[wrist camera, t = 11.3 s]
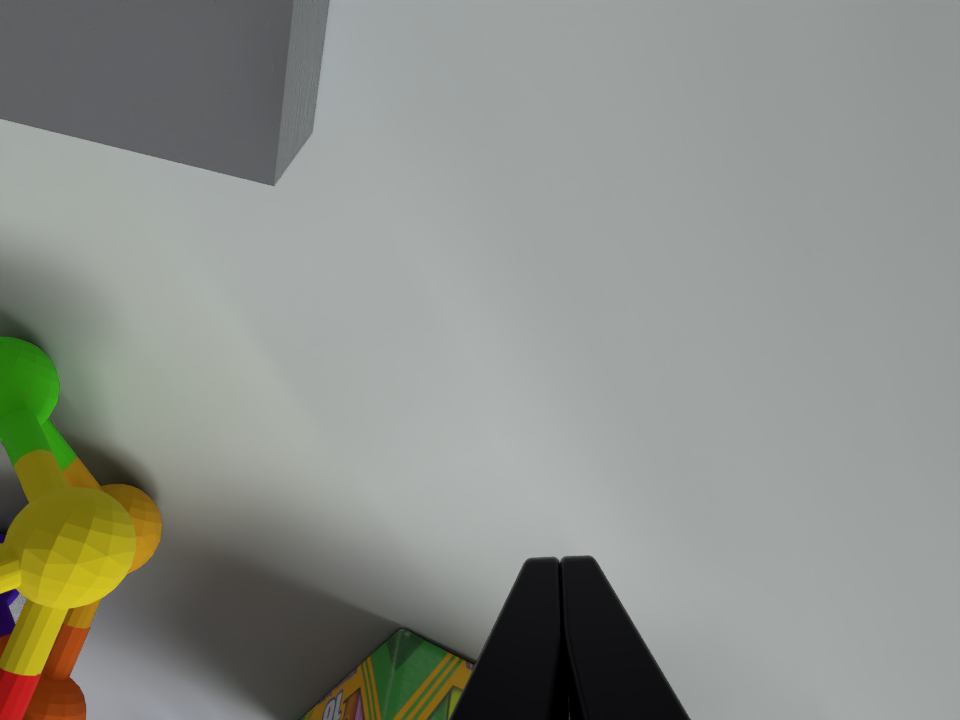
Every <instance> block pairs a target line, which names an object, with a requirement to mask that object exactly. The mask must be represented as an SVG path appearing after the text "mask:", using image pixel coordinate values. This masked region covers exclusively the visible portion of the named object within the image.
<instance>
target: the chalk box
mask: <svg viewBox="0 0 960 720" xmlns="http://www.w3.org/2000/svg"><path fill="white" fill-rule="evenodd" d="M474 666H475V665H473V664H471V663H469V662H467V661H464V660H463V659H461V658H459V657H457V656H455V655H453V654H451V653H449V652H447V651H445V650H443V649H441V648H439V647H437V646H435V645H433V644H431V643H429V642H427V641H425V640H423V639H422V638H420V637H418V636H416V635H414V634H413V633H411V632H409V631H408V630H406V629H400V630H399V631H397V632H396V633H395V634H393V635H392V637H391V638H390V639H388V640H387V641H386V642H385V643H384V644H382V646H381V647H380V648H378V649H377V650H376V651H375V652H374V653H372V654H371V655H370V656H369V657H368V658H367V659H366V660H365V661H364V662H362V663H361V664H360V666H358V667H357V668H356V669H355V670H354V671H352V672H351V673H350V674H349V675H348V676H347V677H346V678H345V679H344V680H342V681H341V683H340V684H338V685H337V686H336V687H335V688H334V689H333V690H332V691H331V692H330V693H328V694H327V695H326V697H324V698H323V699H322V700H321V701H320V702H319V703H318V704H317V705H316V706H315V707H313V708H312V709H311V710H310V711H309V712H308V713H307V714H306V715H305V716H304V717H303V718H301V719H300V720H449V718H450V716H451V714H452V712H453V710H454V708H455V706H456V703H457V701H458V699H459V697H460V695H461V693H462V691H463V689H464V687H465V685H466V683H467V681H468V678H469V676H470V674H471V672H472V670H473V668H474ZM569 717H570V713H569Z"/></svg>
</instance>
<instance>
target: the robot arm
mask: <svg viewBox="0 0 960 720" xmlns="http://www.w3.org/2000/svg"><path fill="white" fill-rule="evenodd" d="M568 699H569V700H568ZM569 712H570V717H569ZM449 720H691V719H690V718H689V716H688V714H687V713H686V711H685V709H684V708H683V706H682V704H681V703H680V701H679V699H678V698H677V696H676V694H675V692H674V691H673V689H672V687H671V686H670V684H669V682H668V681H667V679H666V677H665V676H664V674H663V672H662V671H661V669H660V667H659V666H658V664H657V662H656V660H655V659H654V657H653V655H652V654H651V652H650V650H649V649H648V647H647V645H646V644H645V642H644V640H643V639H642V637H641V635H640V634H639V632H638V630H637V629H636V627H635V625H634V623H633V622H632V620H631V618H630V617H629V615H628V613H627V612H626V610H625V608H624V607H623V605H622V603H621V602H620V600H619V598H618V597H617V595H616V593H615V591H614V590H613V588H612V586H611V585H610V583H609V581H608V580H607V578H606V576H605V575H604V573H603V571H602V570H601V568H600V566H599V565H598V563H597V561H596V560H595V559H594V558H593V557H592V556H566V557H563V558H562V559H561V561H560V562H559V560H558V559H557V558H556V557H538V558H529V559H527V560H526V561H525V563H524V564H523V566H522V568H521V570H520V572H519V574H518V576H517V579H516V581H515V583H514V585H513V587H512V589H511V591H510V593H509V595H508V597H507V599H506V601H505V604H504V606H503V608H502V610H501V612H500V614H499V616H498V618H497V620H496V622H495V624H494V626H493V629H492V631H491V633H490V635H489V637H488V639H487V641H486V643H485V645H484V647H483V649H482V651H481V653H480V656H479V658H478V660H477V662H476V664H475V666H474V668H473V670H472V672H471V674H470V676H469V678H468V681H467V683H466V685H465V687H464V689H463V691H462V693H461V695H460V697H459V699H458V701H457V703H456V706H455V708H454V710H453V712H452V714H451V716H450V718H449Z"/></svg>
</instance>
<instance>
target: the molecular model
mask: <svg viewBox="0 0 960 720" xmlns="http://www.w3.org/2000/svg"><path fill="white" fill-rule="evenodd" d="M59 388H60V382H59V377H58V372H57V370H56V368H55V366H54V364H53V362H52V361H51V360H50V358H49V357H48V356H47V355H46V354H45V353H44V352H43V351H42V350H41V349H40V348H39V347H37V346H36V345H34V344H31V343H29V342H27V341H25V340H22V339H18V338H15V337H0V441H3V444H4V446H5V449H6V451H7V453H8V456H9V458H10V460H11V463H12V465H13V467H14V470H15V472H16V474H17V477H18V479H19V481H20V484H21V486H22V488H23V491H24V493H25V495H26V498H27V500H28V502H29V504H28V505H26V506H25V507H24V508H23V509H22V511H21V512H20V513H19V514H18V515H17V516H16V517H15V519H14V520H13V522H12V524H11V525H10V527H9V529H8V531H7V534H6V535H4V534H1V533H0V720H86V704H85V698H84V695H83V693H82V691H81V689H80V687H79V686H78V685H77V684H76V683H75V682H74V681H73V680H72V679H71V678H70V674H71V672H72V669H73V667H74V665H75V662H76V660H77V658H78V655H79V653H80V651H81V648H82V646H83V644H84V641H85V639H86V637H87V634H88V632H89V630H90V624H91V622H92V620H93V617H94V615H95V613H96V610H97V608H98V606H99V603H100V601H101V599H102V598H103V597H104V596H106V595H107V594H108V593H110V592H111V591H112V590H114V589H115V588H116V587H117V586H118V584H119V583H120V582H121V581H122V580H123V579H124V577H125V576H126V574H129V573H131V572H133V571H135V570H137V569H138V568H140V567H141V566H142V565H144V564H145V563H146V562H147V561H148V560H149V559H150V558H151V556H152V555H153V554H154V552H155V550H156V548H157V546H158V544H159V542H160V540H161V532H162V520H161V515H160V512H159V510H158V508H157V505H156V504H155V503H154V502H153V500H152V499H151V498H150V497H149V496H148V495H147V494H145V493H144V492H143V491H142V490H140V489H138V488H136V487H133V486H130V485H125V484H109V485H104V486H100V485H99V484H98V482H97V481H96V480H95V478H94V477H93V476H92V475H91V473H90V472H89V471H88V469H87V468H86V467H85V465H84V464H83V463H82V462H81V460H80V459H79V458H78V456H77V455H76V454H75V452H74V451H73V450H72V448H71V447H70V446H69V444H68V443H67V442H66V441H65V439H64V438H63V437H62V435H61V434H60V433H59V431H58V430H57V429H56V427H55V426H54V425H53V423H52V422H51V421H50V419H49V417H50V415H51V413H52V411H53V410H54V408H55V406H56V404H57V402H58V397H59ZM19 593H20V594H21V595H22V596H23V597H25V598H27V600H26V602H25V605H24V607H23V609H22V611H21V614H20V616H19V618H18V620H17V623H16V624H15V622H14V619H13V617H12V614H11V612H10V609H9V605H10V604H11V603H12V602H13V601H14V600H15V599H16V598H17V597H18V595H19Z"/></svg>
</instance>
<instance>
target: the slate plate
mask: <svg viewBox="0 0 960 720" xmlns="http://www.w3.org/2000/svg"><path fill="white" fill-rule="evenodd" d="M328 6H329V0H0V119H4V120H8V121H12V122H16V123H20V124H24V125H28V126H32V127H36V128H40V129H44V130H48V131H52V132H56V133H61V134H65V135H69V136H73V137H77V138H81V139H85V140H89V141H93V142H97V143H101V144H105V145H109V146H113V147H117V148H121V149H125V150H129V151H134V152H138V153H142V154H146V155H150V156H154V157H158V158H162V159H166V160H170V161H174V162H178V163H182V164H186V165H190V166H194V167H198V168H203V169H207V170H211V171H215V172H219V173H223V174H227V175H231V176H235V177H239V178H243V179H247V180H251V181H255V182H259V183H263V184H267V185H272V186H274V185H275V184H276V183H277V181H278V180H279V179H280V177H281V176H282V174H283V173H284V172H285V170H286V169H287V167H288V166H289V165H290V163H291V162H292V160H293V159H294V158H295V156H296V155H297V154H298V152H299V151H300V149H301V148H302V147H303V145H304V144H305V142H306V141H307V140H308V138H309V137H310V135H311V134H312V130H313V123H314V115H315V107H316V99H317V91H318V84H319V76H320V68H321V60H322V53H323V45H324V37H325V29H326V22H327V14H328Z"/></svg>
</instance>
